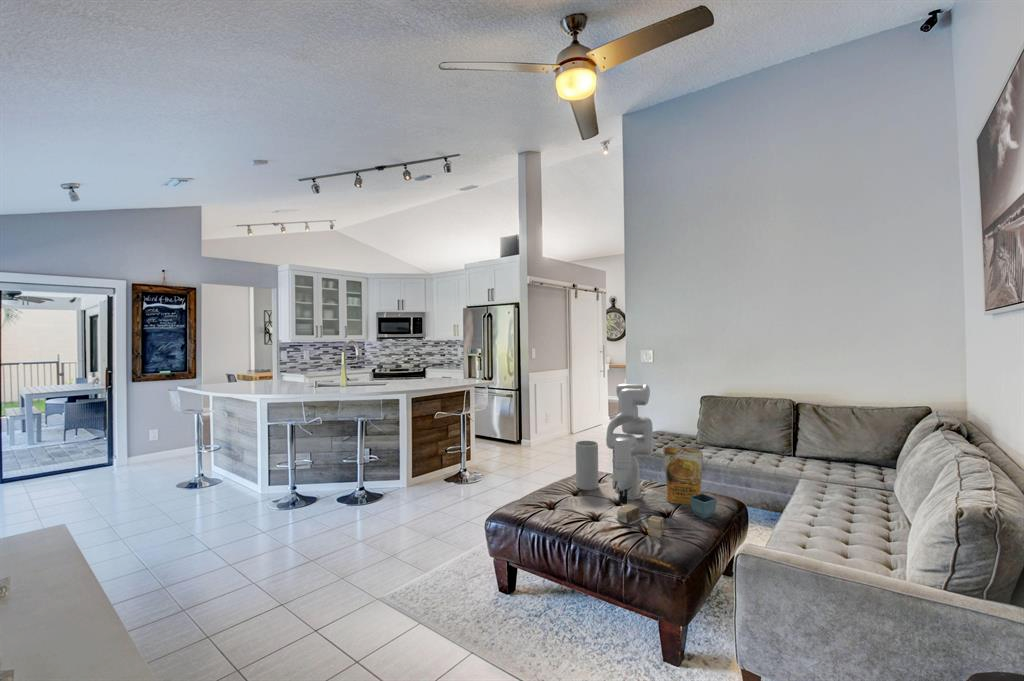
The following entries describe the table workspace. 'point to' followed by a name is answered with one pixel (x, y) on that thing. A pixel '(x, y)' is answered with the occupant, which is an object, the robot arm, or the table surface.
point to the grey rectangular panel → (636, 519)
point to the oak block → (655, 526)
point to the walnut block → (628, 513)
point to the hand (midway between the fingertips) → (623, 503)
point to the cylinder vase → (587, 465)
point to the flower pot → (703, 505)
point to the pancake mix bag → (682, 473)
